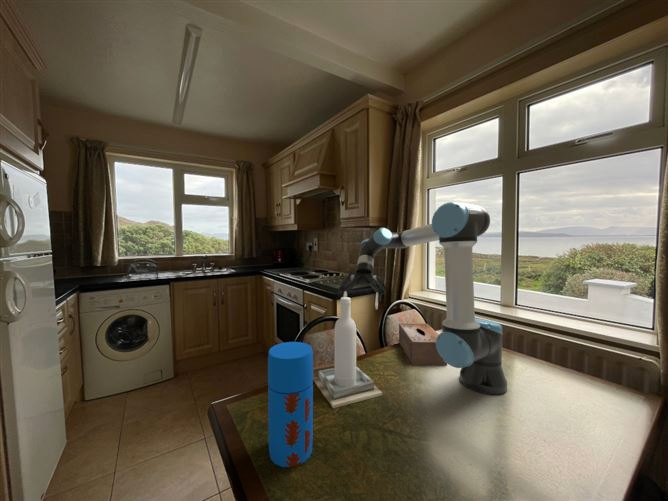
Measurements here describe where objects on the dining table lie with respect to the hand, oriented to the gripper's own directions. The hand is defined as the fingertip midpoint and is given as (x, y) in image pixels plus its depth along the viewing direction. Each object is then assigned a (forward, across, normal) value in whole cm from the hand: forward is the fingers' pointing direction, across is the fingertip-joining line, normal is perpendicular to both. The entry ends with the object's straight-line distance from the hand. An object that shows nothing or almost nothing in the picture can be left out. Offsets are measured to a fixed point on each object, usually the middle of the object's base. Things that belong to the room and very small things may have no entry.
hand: (359, 306), depth 110 cm
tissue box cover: (+2, -25, -34) cm, 42 cm away
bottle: (+28, +2, -5) cm, 29 cm away
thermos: (+52, +9, +16) cm, 55 cm away
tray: (+29, +2, -6) cm, 30 cm away
